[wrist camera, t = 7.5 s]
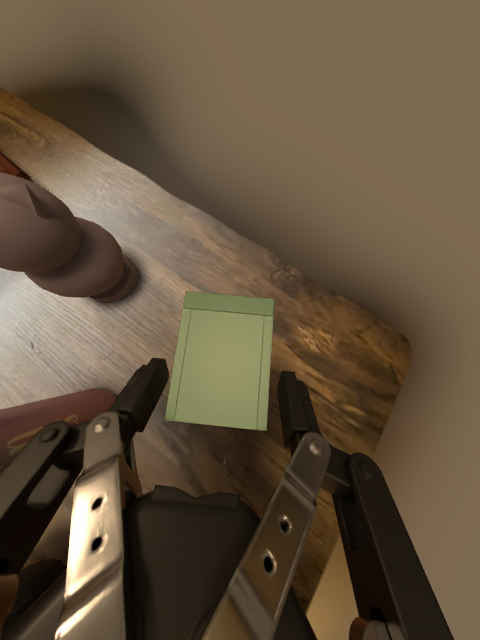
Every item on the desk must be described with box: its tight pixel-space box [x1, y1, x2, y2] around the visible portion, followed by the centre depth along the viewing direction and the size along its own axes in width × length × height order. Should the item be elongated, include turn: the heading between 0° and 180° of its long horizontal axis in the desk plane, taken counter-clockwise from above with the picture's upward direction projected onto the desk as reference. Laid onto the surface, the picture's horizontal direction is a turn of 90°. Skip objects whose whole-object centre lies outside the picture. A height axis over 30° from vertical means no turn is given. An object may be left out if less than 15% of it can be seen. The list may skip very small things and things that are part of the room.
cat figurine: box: [0, 172, 138, 302], centre depth 16 cm, size 8×8×12 cm
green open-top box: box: [165, 291, 274, 431], centre depth 15 cm, size 8×6×9 cm
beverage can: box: [0, 389, 116, 473], centre depth 11 cm, size 6×6×15 cm
